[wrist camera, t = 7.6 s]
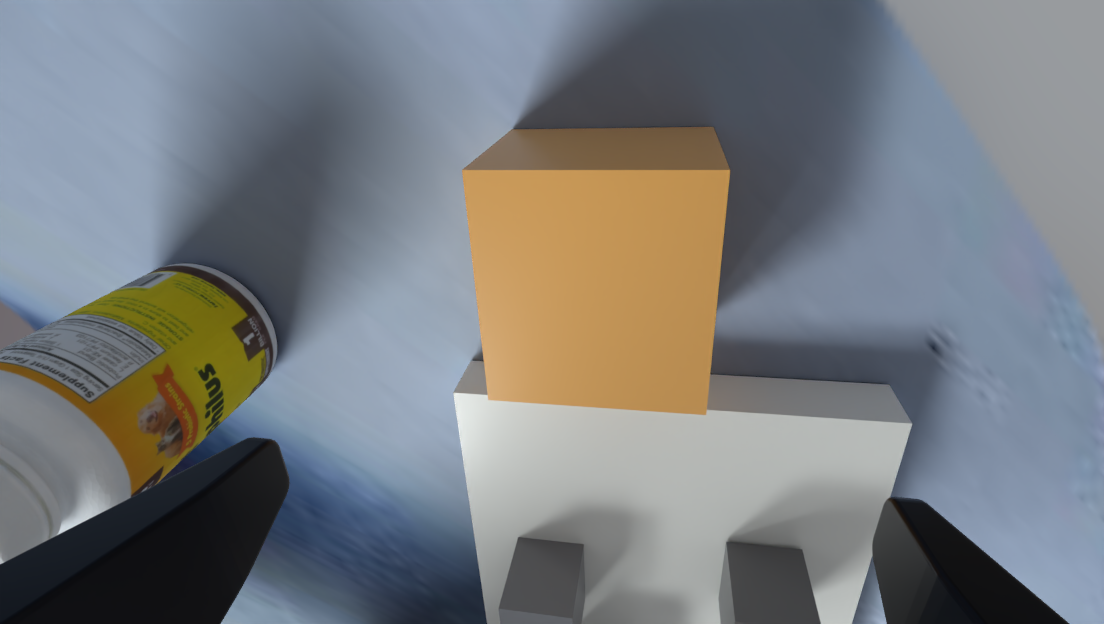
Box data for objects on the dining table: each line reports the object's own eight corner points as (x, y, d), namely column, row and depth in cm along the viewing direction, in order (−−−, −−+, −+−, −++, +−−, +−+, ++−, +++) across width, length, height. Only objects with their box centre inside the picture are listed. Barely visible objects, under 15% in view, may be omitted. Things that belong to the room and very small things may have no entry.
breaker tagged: (790, 607, 21) (812, 708, 18) (717, 598, 22) (725, 696, 19) (804, 549, 20) (829, 649, 17) (724, 541, 20) (735, 636, 17)
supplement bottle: (266, 406, 24) (30, 644, 15) (140, 339, 23) (-181, 545, 15) (303, 306, 21) (42, 523, 12) (162, 228, 21) (-216, 397, 12)
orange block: (697, 324, 19) (706, 415, 15) (525, 316, 20) (488, 399, 16) (713, 126, 16) (730, 170, 12) (511, 129, 17) (462, 169, 13)
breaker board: (809, 681, 26) (837, 816, 22) (505, 638, 28) (477, 753, 24) (889, 384, 19) (956, 500, 14) (470, 360, 21) (420, 453, 17)
